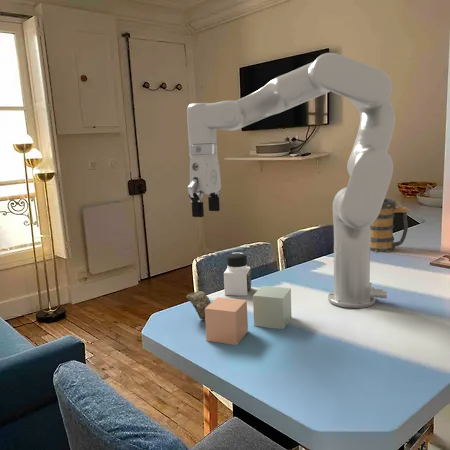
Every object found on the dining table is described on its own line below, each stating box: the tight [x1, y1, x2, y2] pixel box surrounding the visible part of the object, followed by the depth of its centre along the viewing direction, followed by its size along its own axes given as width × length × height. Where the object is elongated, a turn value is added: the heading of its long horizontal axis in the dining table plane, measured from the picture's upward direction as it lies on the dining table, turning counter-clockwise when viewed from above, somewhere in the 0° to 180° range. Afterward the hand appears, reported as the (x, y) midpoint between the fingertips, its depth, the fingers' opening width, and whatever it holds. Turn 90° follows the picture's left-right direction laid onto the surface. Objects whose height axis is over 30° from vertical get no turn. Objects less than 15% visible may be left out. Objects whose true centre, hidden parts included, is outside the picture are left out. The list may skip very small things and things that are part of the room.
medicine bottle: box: [223, 252, 252, 297], centre depth 135 cm, size 7×7×12 cm
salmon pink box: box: [204, 296, 249, 346], centre depth 105 cm, size 8×8×8 cm
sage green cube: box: [252, 285, 292, 330], centre depth 112 cm, size 8×8×8 cm
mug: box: [370, 198, 411, 253], centre depth 172 cm, size 13×17×20 cm
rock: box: [185, 290, 212, 322], centre depth 114 cm, size 7×8×4 cm
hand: (206, 213), depth 122 cm, fingers open, 9 cm apart
